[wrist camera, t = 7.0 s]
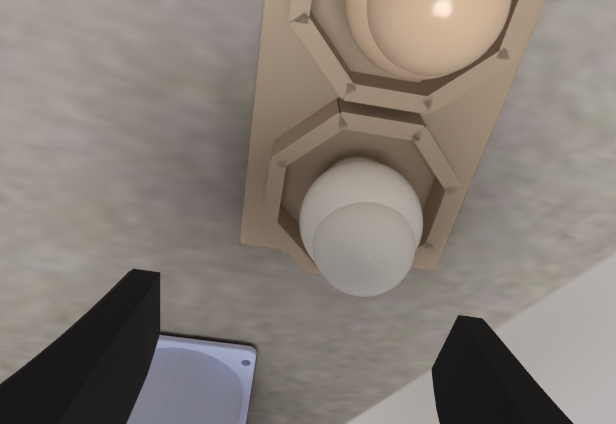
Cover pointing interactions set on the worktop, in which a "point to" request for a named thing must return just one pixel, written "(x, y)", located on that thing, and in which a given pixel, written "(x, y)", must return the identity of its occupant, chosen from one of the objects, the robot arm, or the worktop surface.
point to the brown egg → (424, 33)
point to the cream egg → (361, 226)
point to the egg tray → (365, 121)
